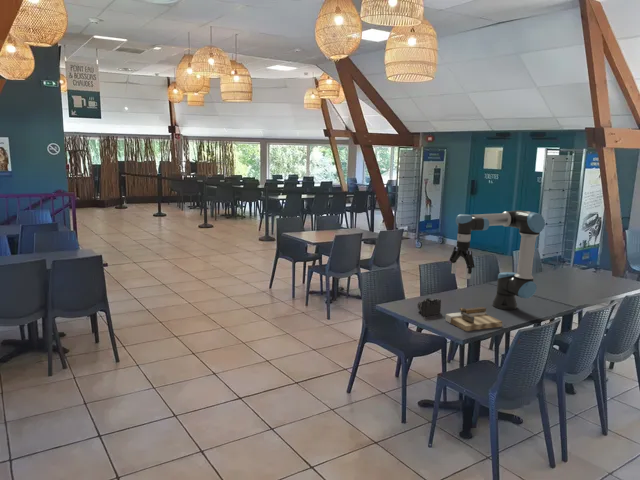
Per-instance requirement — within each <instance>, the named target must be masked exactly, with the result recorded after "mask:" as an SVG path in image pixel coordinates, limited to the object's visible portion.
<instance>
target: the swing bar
mask: <svg viewBox="0 0 640 480" xmlns="http://www.w3.org/2000/svg"><path fill="white" fill-rule="evenodd" d="M459 311H460V312H461V311H464V313H467V314H468V313H477V312H486V313H487V307H484V306H479V307H470V308H465V307H459Z"/></svg>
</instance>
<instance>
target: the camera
mask: <svg viewBox="0 0 640 480" xmlns="http://www.w3.org/2000/svg"><path fill="white" fill-rule="evenodd" d="M441 307H442V300H441V298H437V297H436V298H430V297H427V298H426V299H424V300H420V301H418V303H417V309H418V310H419V311H420V312H421V313H420V316H423V317H428V316H433V315H434V316H435V315H440V314H441V309H442V308H441Z"/></svg>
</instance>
